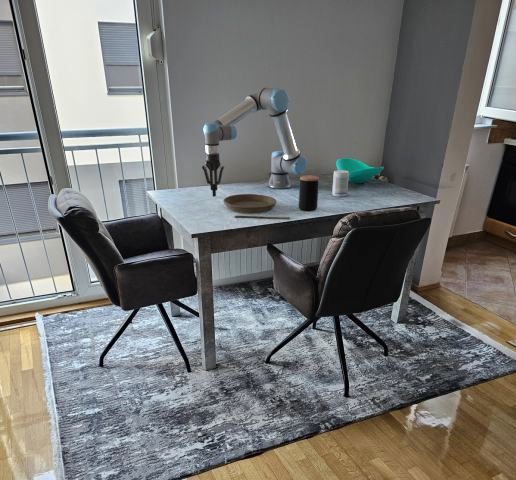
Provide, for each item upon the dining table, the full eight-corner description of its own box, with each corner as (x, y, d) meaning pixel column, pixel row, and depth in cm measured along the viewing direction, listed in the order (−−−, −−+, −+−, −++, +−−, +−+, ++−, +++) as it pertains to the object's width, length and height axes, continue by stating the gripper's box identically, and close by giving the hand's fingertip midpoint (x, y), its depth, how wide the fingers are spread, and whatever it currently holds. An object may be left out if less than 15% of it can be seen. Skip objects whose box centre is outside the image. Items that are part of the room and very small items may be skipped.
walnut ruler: (234, 217, 258) (234, 216, 258) (235, 216, 261) (235, 215, 260) (289, 219, 256) (289, 218, 256) (289, 218, 258) (289, 217, 258)
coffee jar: (318, 207, 276) (320, 176, 267) (314, 212, 267) (316, 180, 258) (301, 206, 279) (302, 174, 270) (296, 210, 270) (298, 178, 261)
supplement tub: (349, 195, 301) (352, 171, 293) (338, 197, 296) (341, 173, 289) (339, 192, 308) (341, 169, 300) (328, 194, 303) (330, 171, 296)
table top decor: (325, 179, 343) (326, 160, 336) (355, 175, 355) (357, 156, 348) (359, 190, 314) (362, 169, 307) (391, 186, 325) (394, 165, 318)
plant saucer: (279, 202, 287) (280, 194, 284) (271, 216, 261) (271, 208, 258) (230, 199, 291) (230, 192, 289) (217, 213, 265) (217, 205, 263)
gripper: (199, 154, 260) (202, 197, 272) (222, 154, 259) (224, 197, 271) (202, 151, 266) (204, 194, 278) (225, 152, 265) (226, 194, 277)
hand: (214, 196), depth 275 cm, fingers closed
